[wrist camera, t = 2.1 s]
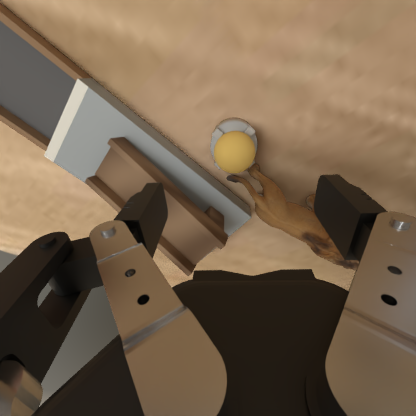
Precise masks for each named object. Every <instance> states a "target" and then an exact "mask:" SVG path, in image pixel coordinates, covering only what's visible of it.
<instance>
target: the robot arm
mask: <svg viewBox="0 0 416 416" xmlns="http://www.w3.org/2000/svg"><path fill="white" fill-rule="evenodd" d="M314 212H315V215H316V217H317V218H318V220H319V221H320V223H321V224H322V226H323V227H324V229H325V230H326V232H327V233H328V235H329V237H330V238H331V240H332V241H333V243H334V244H335V246H336V247H337V249H338V250H339V252H340V253H341V255H342V257H343V258H344V260H358V261H359V264H358V267H357V269H356V272H355V275H354V277H353V280H352V283H351V285H350V288H349V291H347V290H345V289H343V288H341V287H339V286H337V285H335V284H332V283H329V282H326V281H323V280H319V279H316V278H315V276H314V274H313V272H312V269H299V270H278V271H273V272H269V273H264V274H260V275H255V276H249V275H244V274H238V273H233V272H228V271H223V270H202V271H194V274H193V280H188V281H185V282H183V283H180V284H178V285H176V286H174V287H172V288H171V286H170V285H169V283H168V282H167V280H166V279H165V277H164V275H163V274H162V272H161V271H160V269H159V268H158V266H157V265H156V263H155V262H154V260H153V259H152V258H153V256H154V253H155V250H156V248H157V245H158V242H159V240H160V237H161V235H162V232H163V229H164V227H165V224H166V221H167V218H168V207H167V202H166V197H165V192H164V187H163V184H162V183H161V182H156V183H147V184H146V185H145V186H144V188H143V189H142V191H141V192H137V193H136V194H134V195H133V196H132V197H130V199H129V200H128V201H127V204H125V205H124V207H123V208H122V209H121V211H120V212H119V213H118V215H117V216H116V218H115V219H114V220H113V221H108V222H104V223H102V224H100V225H98V226H96V227H95V228H94V229H93V230H92V231H91V232H90V235H89V237H87V238H83V239H78V240H74V241H71V240H70V238H69V236H68V235H67V233H65V232H54V233H50V234H47V235H44V236H42V237H40V238H38V239H36V240H35V241H33V242H32V243H31V244H30V245H29V246H28V247H27V248H26V249H25V250H24V251H23V252H22V253H20V254H19V255H18V256H17V257H16V258H15V259H14V260H13V261H12V262H11V263H10V264H9V265H8V266H7V267H6V268H5V269H4V270H3V271H2V272H1V273H0V416H416V218H414V217H412V216H410V215H407V214H403V213H398V212H388V211H386V210H385V209H384V208H383V207H382V206H380V205H379V204H378V203H377V202H376V201H375V200H372V198H371V197H370V196H369V195H366V193H365V192H364V191H363V190H362V189H360V188H358V187H356V186H354V185H352V184H349V183H348V182H347V181H345V180H344V179H343V178H342V177H341V176H340V175H338V174H335V175H321V176H320V178H319V180H318V185H317V190H316V195H315V200H314ZM47 283H49V285H50V286H51V288H52V290H51V291H50V293H49V294H48V295H47V297H46V298H45V300H44V301H43V302H42V304H41V305H40V306H39V308H38V305H37V300H38V296H39V294H40V292H41V290H42V289H43V288H44V287H45V286H46V284H47ZM103 285H104V287H105V290H106V293H107V297H108V299H109V303H110V305H111V309H112V312H113V315H114V318H115V321H116V324H117V327H118V330H119V333H120V334H119V335H117V336H116V337H115V338H114V339H113V340H112V341H111V342H110V343H109V344H108V345H107V346H105V347H104V348H103V349H102V350H101V351H100V352H99V353H98V354H97V355H96V356H94V357H93V358H92V359H91V360H90V361H89V362H88V363H87V364H86V365H85V366H84V367H82V368H81V369H80V370H79V371H78V372H77V373H76V374H75V375H74V376H72V377H71V378H70V379H69V380H68V381H67V382H66V383H65V384H64V385H63V386H61V388H59V389H58V390H57V391H56V392H55V393H54V394H53V395H52V396H51V397H49V399H47V400H46V401H45V402H44V403H43V404H42V405H41V406H40V407H39V405H40V403H41V399H42V394H43V389H42V385H41V383H42V381H43V379H44V377H45V375H46V373H47V371H48V370H49V368H50V366H51V364H52V362H53V360H54V358H55V356H56V355H57V353H58V351H59V349H60V347H61V345H62V343H63V342H64V340H65V337H66V336H67V334H68V332H69V330H70V328H71V327H72V325H73V323H74V321H75V319H76V317H77V315H78V313H79V312H80V310H81V308H82V306H83V304H84V302H85V300H86V299H87V297H88V295H89V293H90V291H91V289H92V288H95V287H99V286H103Z"/></svg>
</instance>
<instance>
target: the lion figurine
mask: <svg viewBox="0 0 416 416" xmlns="http://www.w3.org/2000/svg"><path fill="white" fill-rule="evenodd" d="M248 172H249V173H250V175H251V176H252V177H253V178H254V179H256V180H258V181H259V182H260V184H261V186H262V187H263V195H262V194H257V192H256V191H255V189H254V188H253V187H252V185H251V184H250V183H249V182H248V181H247V180H245V179H243V178H240V177H236V176H235V175H232V176H228V177H227V180H229V181H233V182H240V183H243V184H244V185H245V187H246V188H247V190H248V191H249V193H250V195H251V196H252V198H253V200H254V201H255V212H256V214H257V215H258V216H259V218H260V219H261V220H263V221H264V222H265V223H267V224H268V225H270V226H272V227H275V228H278V229H281V230H283V231H285V232H286V233H288V234H290V235H291V236H293V237H296V238H297V239H299V240H301V241H303V242H305V243H307V245H309V246H310V247H311V249H312V251H313V252H314V253H315V254H316V255H318V256H320V257H322V258H324V259H326V260H328V261H330V262H333V263H334V264H337V265H341V266H343V267H344V268H347V269H349V268H350V269H353V270H356V269H357V267H358V264H359V261H358V260H344V258H343V257H342V255H341V253H340V252H339V250H338V249H337V247H336V246H335V244H334V243H333V241H332V240H331V238H330V237H329V235H328V233H327V232H326V230H325V229H324V227H323V226H322V224H321V223H320V221H319V220H318V218H317V217H316V215H315V212H314V200H315V195H316V194H313V195H310V196H308V198H307V199H306V203H307V205H308V206H309V207H310V208H312V209H311V211H310V210H308V209H306V208H304V207H302V206H300V205H297V204H294V203H291V202H286V199H285V197H284V195H283V193H282V191H281V190H280V189H279V188H278V187H277V185H276V184H275V183H274V182H273V181H271V180H270V179H269V178H267V177H265V176H264V175H262V174H261V173H259V172H260V168H259V166H258V165H257V164H253V165H252V166H251V167H250V168H248Z"/></svg>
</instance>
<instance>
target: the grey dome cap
mask: <svg viewBox="0 0 416 416" xmlns="http://www.w3.org/2000/svg"><path fill="white" fill-rule="evenodd" d="M230 131H240V132H243V133H245V134H247V135H248V136H249V137H250V138H251V139H252V141H253V143H254V145H255V154H256V151H257V138H256V135H255V130H254V129H253V128H252V127H251V126H250V125H249V124H248V123H247V122H246V121H244V120H243V119H240V118H228V119H225V120H223V121H222V122H220V123H219V124H218V125H217V127H216V128H215V130H214V132H213V133H212V140H211V153H212V156H213V158H214V147H215V144H216V142H217V140H218V139H219V138H220V137H221V136H222V135H223V134H225V133H227V132H230ZM214 159H215V158H214ZM254 163H255V162H254V160H253V162H252V164H251V165H250V166H249V168H250V167H251V166H252V165H253V164H254ZM214 165H215V166H216V167H217V168H219V169H221V168H220V167H219V166H218V165H217V163H216V162H215V164H214Z"/></svg>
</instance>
